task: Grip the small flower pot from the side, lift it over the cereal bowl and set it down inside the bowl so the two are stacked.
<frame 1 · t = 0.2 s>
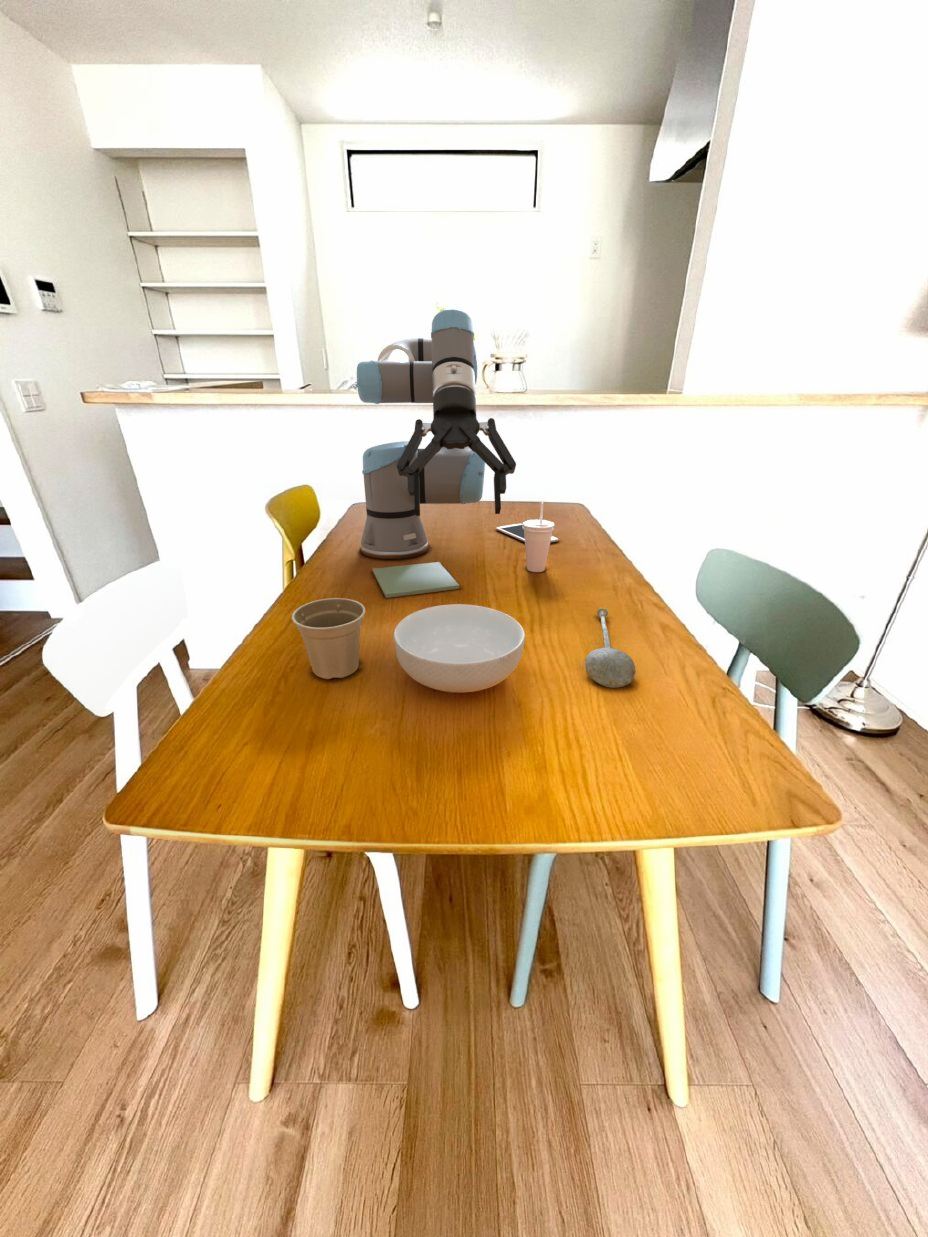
hand: (457, 512, 88), 16 cm above the table, tool tilted 35°, fingers open, 13 cm apart
pale green notebook: (414, 580, 102), on the table
smoothie: (535, 569, 108), on the table
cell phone: (526, 535, 130), on the table
flower pot: (336, 669, 72), on the table
cereal bowl: (459, 677, 70), on the table
soupspoon: (605, 649, 78), on the table
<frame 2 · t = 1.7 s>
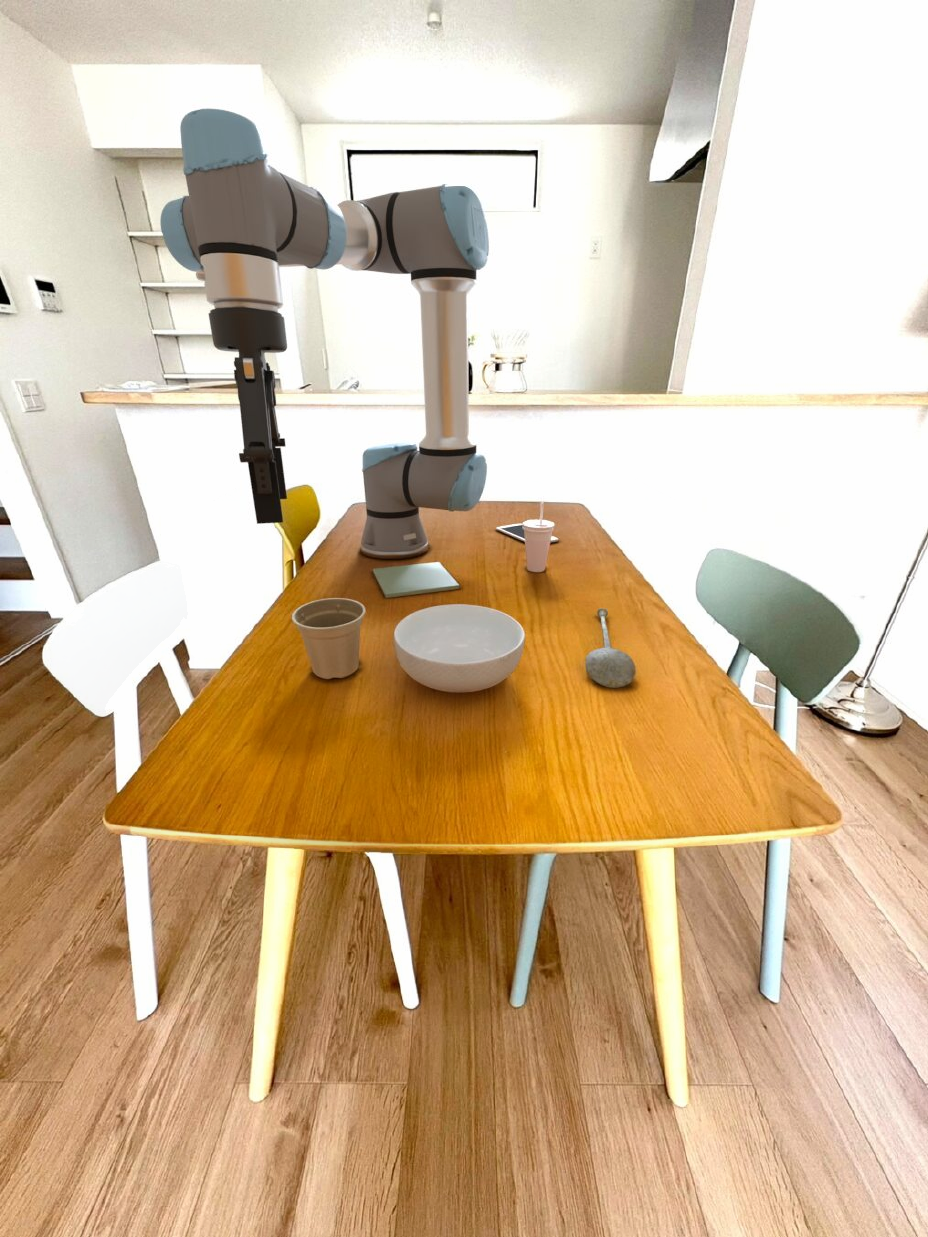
hand: (273, 509, 64), 22 cm above the table, tool pointing down, fingers open, 13 cm apart
nothing on the table moved.
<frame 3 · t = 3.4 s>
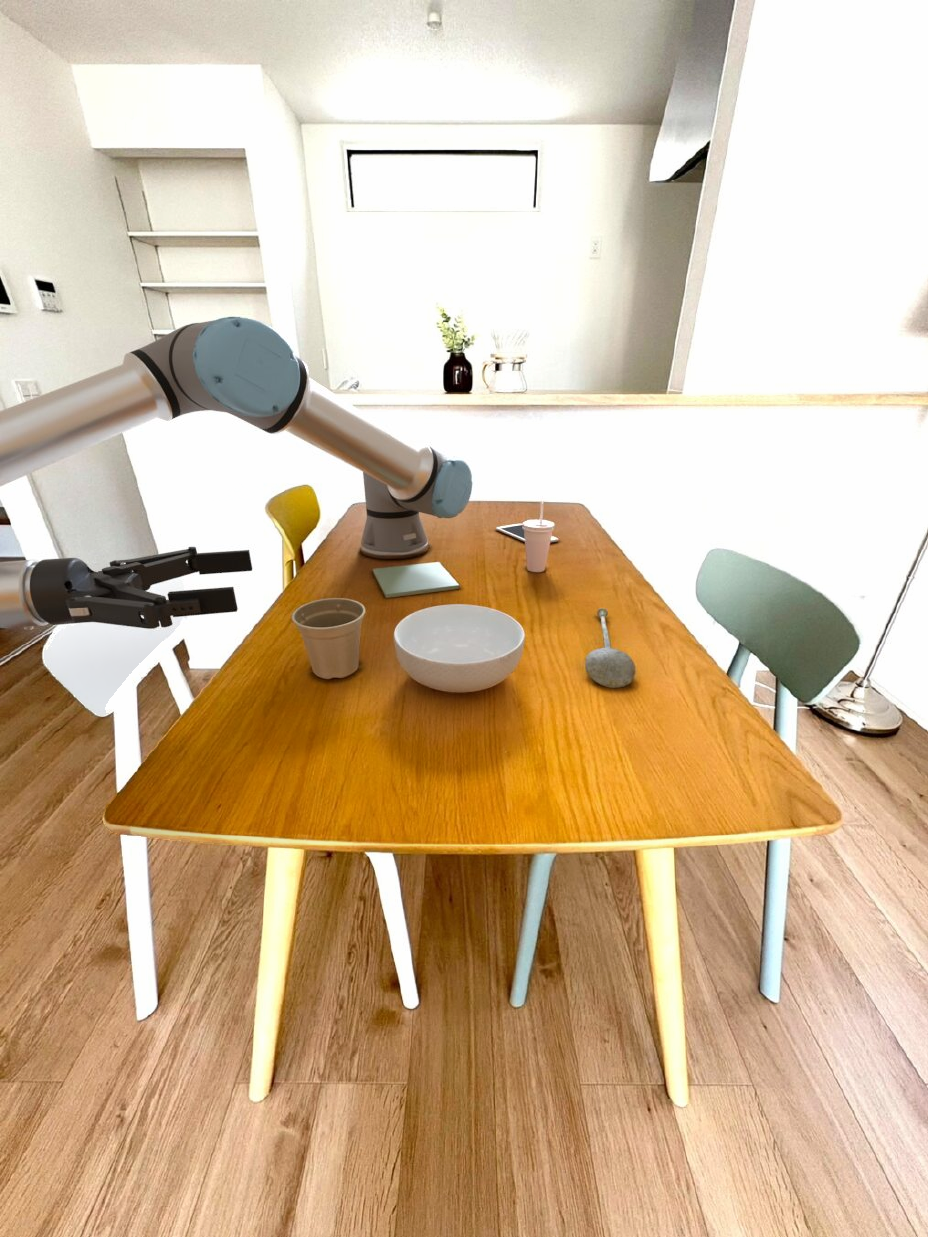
hand: (243, 578, 64), 14 cm above the table, tool horizontal, fingers open, 13 cm apart
nothing on the table moved.
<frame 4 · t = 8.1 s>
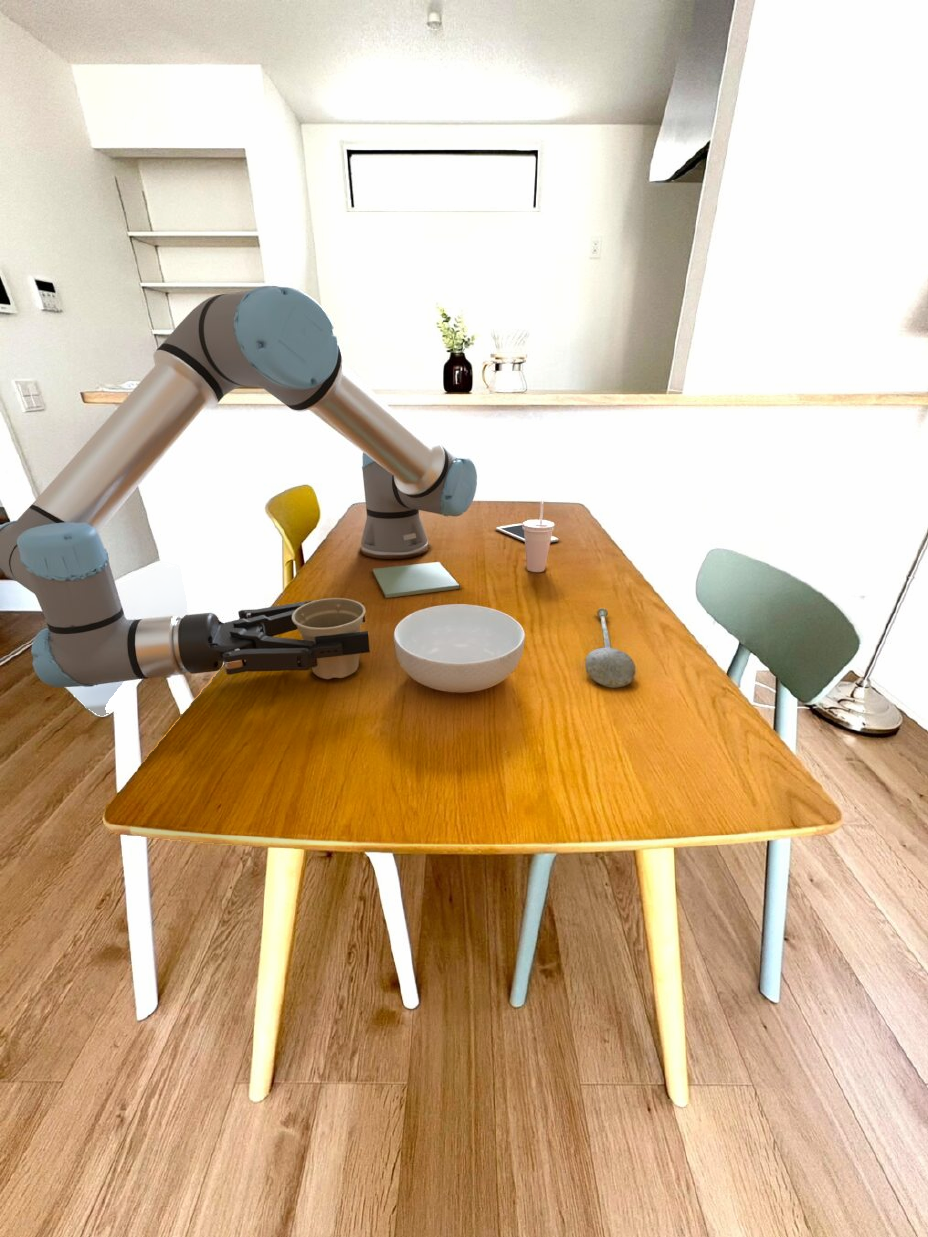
hand: (366, 626, 71), 6 cm above the table, tool horizontal, fingers closed on flower pot, 8 cm apart
flower pot: (336, 669, 72), on the table, touching gripper
everything else where it was.
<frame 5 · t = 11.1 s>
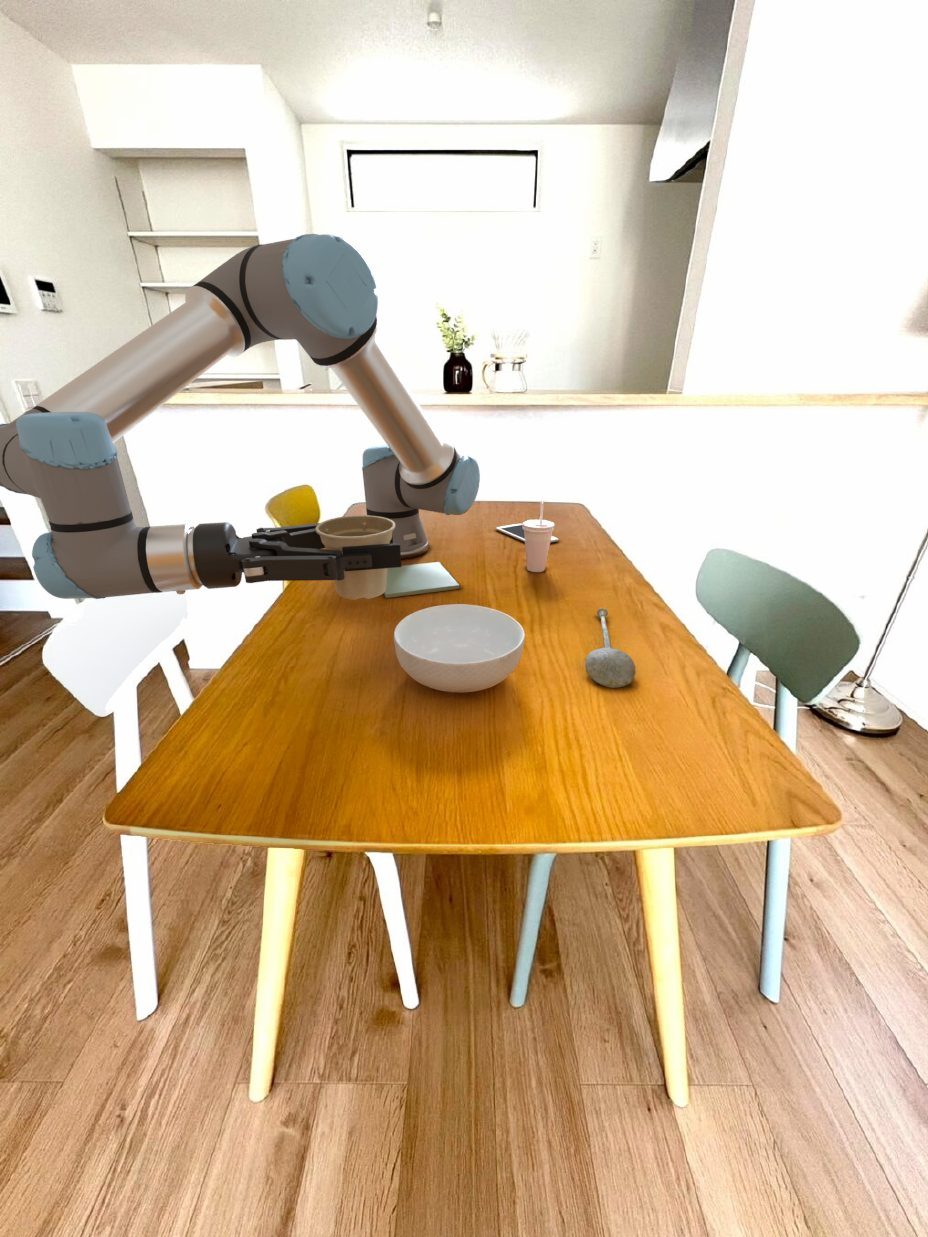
hand: (395, 543, 65), 18 cm above the table, tool horizontal, fingers closed on flower pot, 8 cm apart
flower pot: (361, 592, 67), point 12 cm above the table, touching gripper
everything else where it was.
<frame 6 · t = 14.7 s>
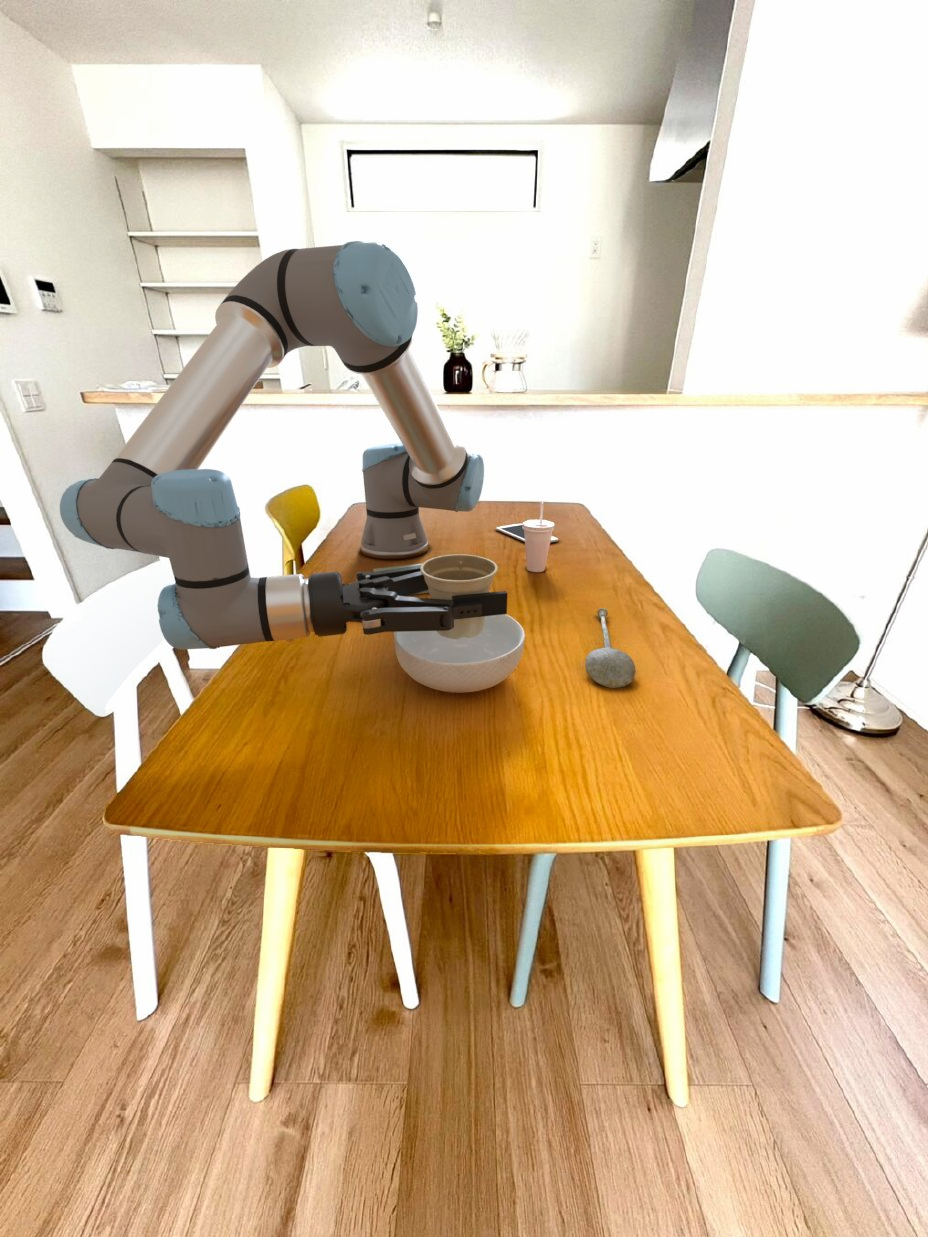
hand: (495, 588, 66), 12 cm above the table, tool horizontal, fingers closed on flower pot, 8 cm apart
flower pot: (459, 631, 67), point 7 cm above the table, touching cereal bowl, gripper
cereal bowl: (459, 677, 70), on the table, touching flower pot
everything else where it was.
when the fingers open (12 cm above the table, at t = 14.8 s): flower pot stays where it is, resting on cereal bowl.
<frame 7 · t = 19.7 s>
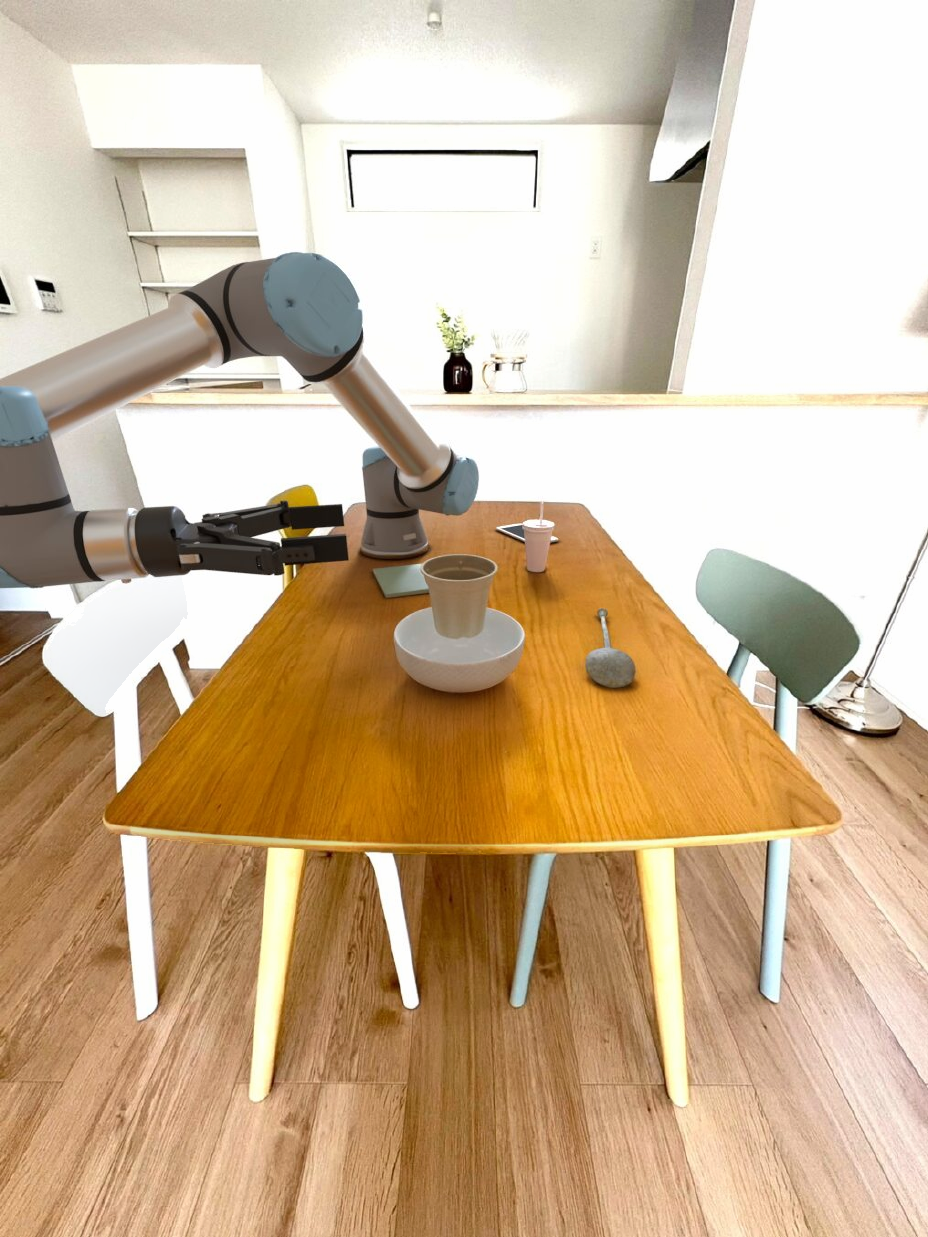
hand: (345, 529, 61), 21 cm above the table, tool horizontal, fingers open, 13 cm apart
flower pot: (459, 630, 67), point 7 cm above the table, touching cereal bowl
everything else where it was.
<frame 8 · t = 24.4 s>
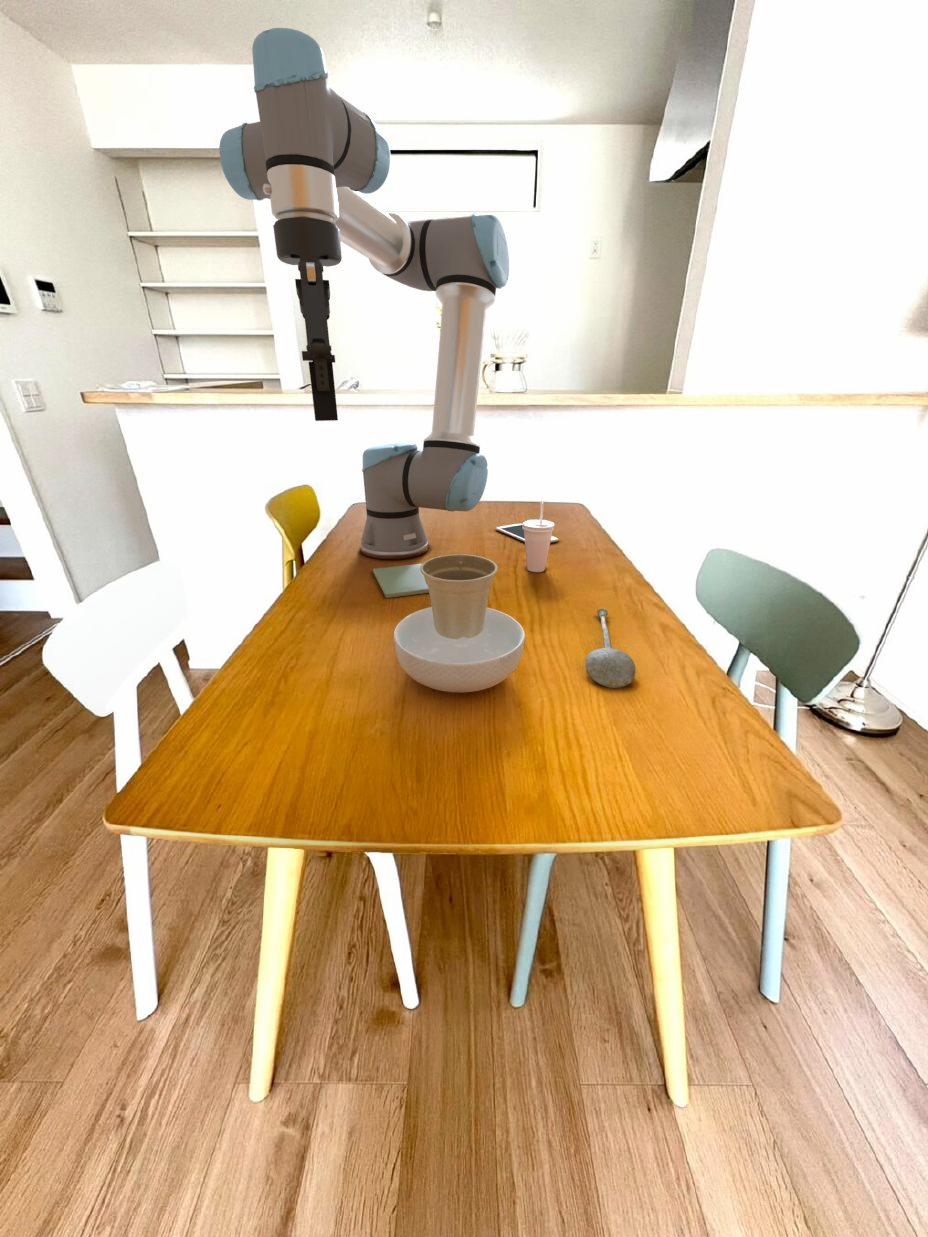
hand: (326, 416, 70), 32 cm above the table, tool pointing down, fingers open, 13 cm apart
nothing on the table moved.
at the end: flower pot 0.1 cm from the cereal bowl (horizontally); flower pot point 6.9 cm above the table; the gripper is holding nothing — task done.
